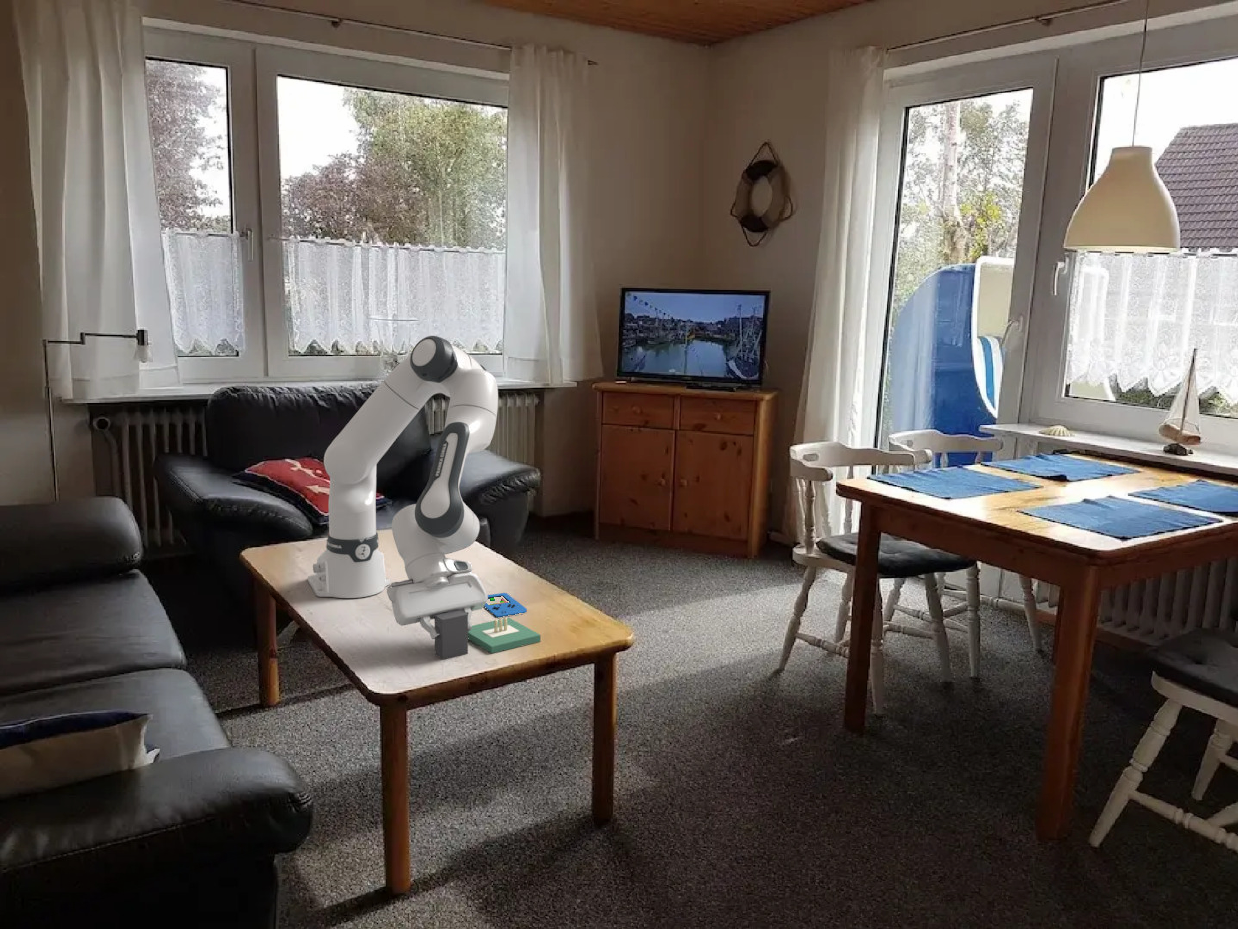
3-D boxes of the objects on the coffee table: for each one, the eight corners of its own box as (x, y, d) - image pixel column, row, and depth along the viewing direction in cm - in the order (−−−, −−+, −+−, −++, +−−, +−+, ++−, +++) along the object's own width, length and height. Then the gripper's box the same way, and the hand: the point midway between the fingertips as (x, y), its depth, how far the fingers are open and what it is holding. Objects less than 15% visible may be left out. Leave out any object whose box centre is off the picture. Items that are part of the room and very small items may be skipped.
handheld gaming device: (496, 615, 219) (474, 595, 232) (496, 619, 220) (474, 600, 232) (530, 610, 223) (505, 591, 236) (530, 614, 224) (505, 595, 236)
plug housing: (434, 654, 197) (434, 615, 196) (459, 648, 201) (459, 609, 199) (442, 659, 195) (442, 619, 193) (467, 653, 198) (467, 614, 197)
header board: (461, 634, 209) (461, 615, 208) (508, 623, 216) (508, 605, 215) (491, 653, 199) (491, 633, 198) (540, 641, 206) (540, 622, 205)
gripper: (388, 576, 194) (410, 637, 188) (477, 560, 206) (500, 617, 201) (379, 591, 198) (401, 651, 192) (467, 575, 211) (489, 631, 205)
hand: (452, 633), depth 197 cm, fingers closed on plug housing, 6 cm apart
